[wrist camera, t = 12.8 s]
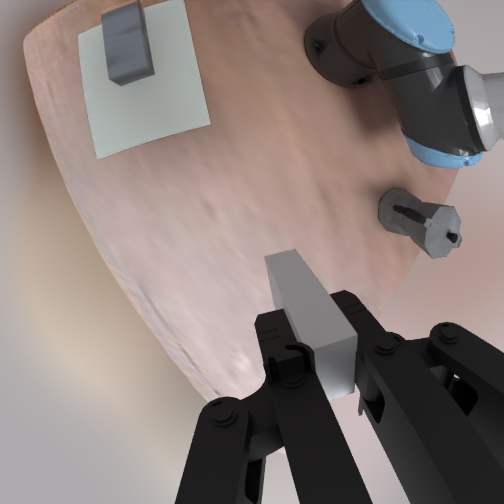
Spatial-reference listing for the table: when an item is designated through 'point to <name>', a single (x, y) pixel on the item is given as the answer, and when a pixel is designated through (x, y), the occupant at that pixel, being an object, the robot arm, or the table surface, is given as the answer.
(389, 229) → the coffeepot
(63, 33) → the table surface
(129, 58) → the slate block
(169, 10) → the sage mat
